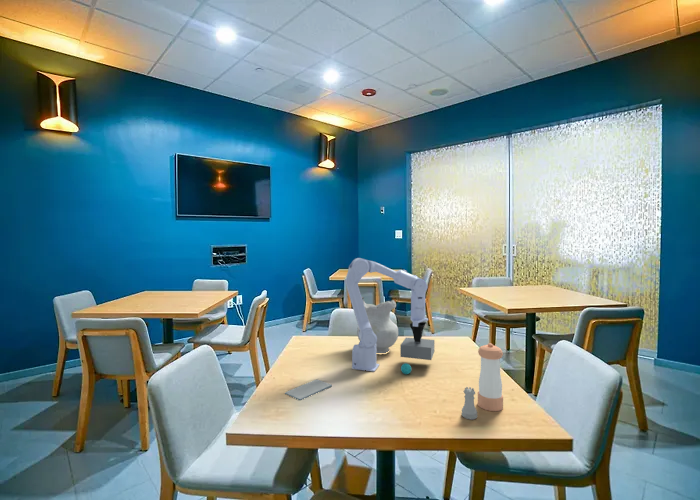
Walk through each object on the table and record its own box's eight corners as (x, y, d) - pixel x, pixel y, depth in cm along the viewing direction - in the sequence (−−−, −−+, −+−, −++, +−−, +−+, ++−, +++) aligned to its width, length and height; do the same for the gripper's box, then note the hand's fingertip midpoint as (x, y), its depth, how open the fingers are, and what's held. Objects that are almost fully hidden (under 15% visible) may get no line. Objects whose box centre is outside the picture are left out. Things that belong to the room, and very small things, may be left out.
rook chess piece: (458, 413, 103) (458, 385, 103) (473, 412, 104) (473, 385, 103) (465, 420, 99) (465, 392, 99) (480, 419, 99) (480, 391, 99)
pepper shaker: (491, 413, 103) (491, 348, 102) (472, 403, 109) (472, 342, 109) (508, 408, 106) (508, 344, 106) (488, 398, 113) (489, 339, 112)
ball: (400, 375, 133) (400, 364, 133) (402, 371, 137) (402, 361, 137) (410, 376, 132) (410, 365, 132) (412, 372, 135) (412, 362, 135)
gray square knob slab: (400, 356, 140) (400, 336, 140) (405, 348, 151) (405, 329, 151) (431, 360, 136) (431, 338, 136) (434, 351, 147) (434, 331, 147)
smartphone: (283, 392, 117) (316, 378, 128) (283, 395, 117) (316, 381, 128) (299, 399, 112) (332, 384, 123) (299, 402, 112) (332, 387, 123)
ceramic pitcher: (347, 356, 159) (345, 302, 156) (358, 341, 177) (357, 293, 175) (394, 361, 152) (394, 305, 150) (401, 345, 171) (401, 295, 168)
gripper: (425, 311, 135) (425, 346, 135) (430, 305, 149) (429, 336, 149) (407, 309, 137) (407, 344, 138) (413, 304, 151) (413, 335, 151)
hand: (417, 340), depth 143 cm, fingers closed on gray square knob slab, 2 cm apart
